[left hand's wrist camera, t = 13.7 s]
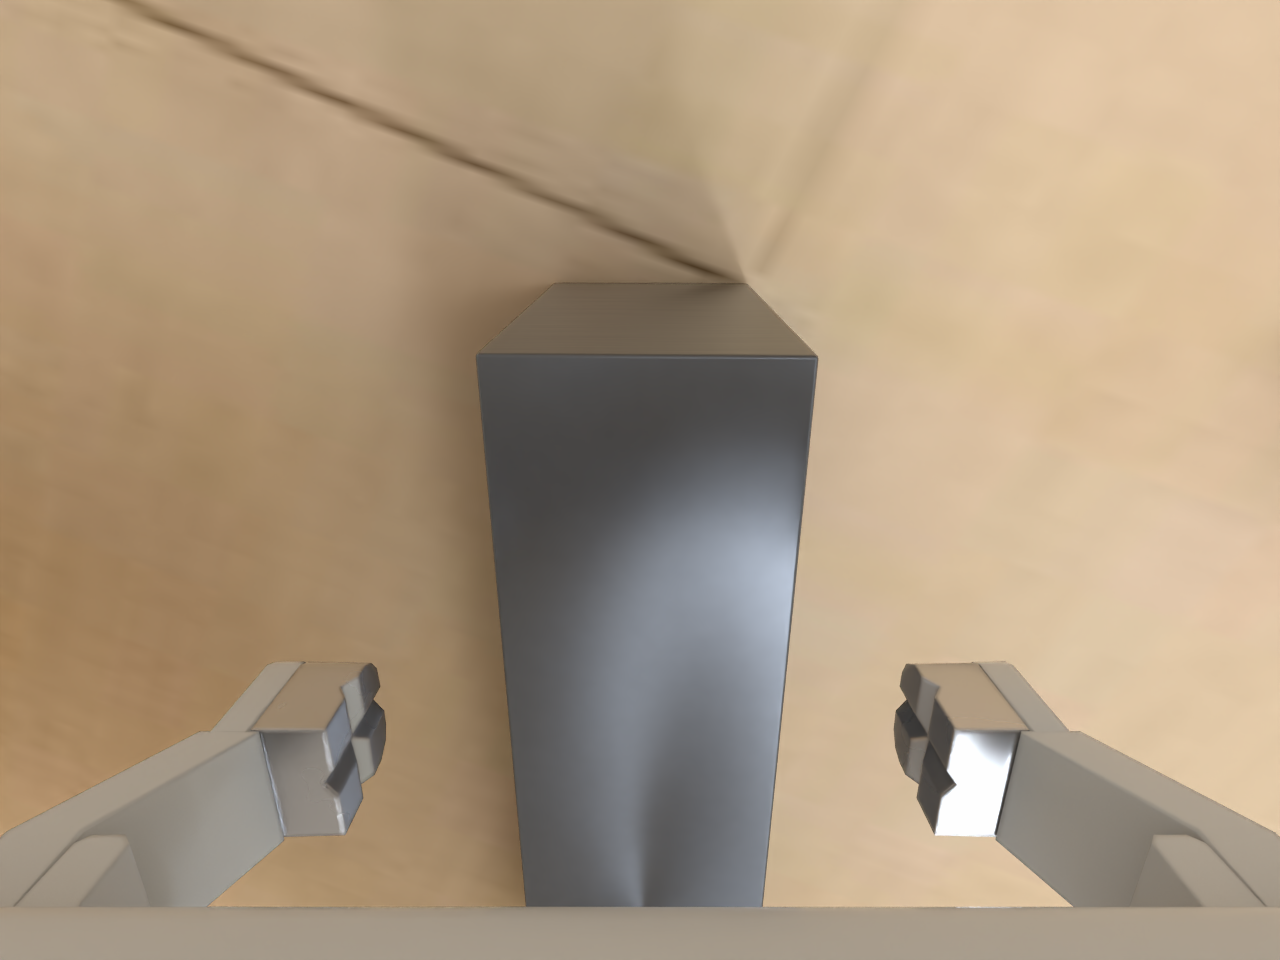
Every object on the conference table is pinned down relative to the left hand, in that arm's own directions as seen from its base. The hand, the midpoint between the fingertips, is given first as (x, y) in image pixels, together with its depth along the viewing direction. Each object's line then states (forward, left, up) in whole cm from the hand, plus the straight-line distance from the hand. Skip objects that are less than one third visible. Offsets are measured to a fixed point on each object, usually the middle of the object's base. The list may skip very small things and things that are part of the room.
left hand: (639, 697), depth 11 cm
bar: (-8, 0, -11) cm, 13 cm away
